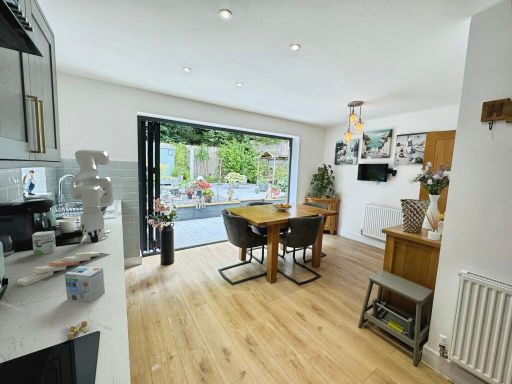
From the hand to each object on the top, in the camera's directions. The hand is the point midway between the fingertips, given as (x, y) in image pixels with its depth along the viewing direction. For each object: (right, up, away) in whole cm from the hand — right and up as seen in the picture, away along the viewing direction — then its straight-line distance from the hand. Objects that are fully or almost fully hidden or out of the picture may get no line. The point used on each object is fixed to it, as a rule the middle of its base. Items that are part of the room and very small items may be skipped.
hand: (94, 242), depth 119 cm
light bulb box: (+23, -13, -35) cm, 43 cm away
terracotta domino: (-3, -8, -8) cm, 12 cm away
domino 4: (0, -7, +2) cm, 7 cm away
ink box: (-32, -7, +5) cm, 34 cm away
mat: (-4, -9, -9) cm, 14 cm away
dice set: (+34, -16, -52) cm, 64 cm away
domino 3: (-2, -7, -3) cm, 8 cm away
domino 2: (-5, -9, -14) cm, 17 cm away
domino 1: (-7, -9, -19) cm, 22 cm away
